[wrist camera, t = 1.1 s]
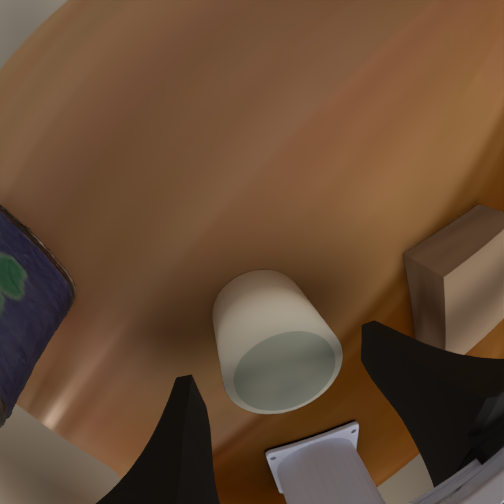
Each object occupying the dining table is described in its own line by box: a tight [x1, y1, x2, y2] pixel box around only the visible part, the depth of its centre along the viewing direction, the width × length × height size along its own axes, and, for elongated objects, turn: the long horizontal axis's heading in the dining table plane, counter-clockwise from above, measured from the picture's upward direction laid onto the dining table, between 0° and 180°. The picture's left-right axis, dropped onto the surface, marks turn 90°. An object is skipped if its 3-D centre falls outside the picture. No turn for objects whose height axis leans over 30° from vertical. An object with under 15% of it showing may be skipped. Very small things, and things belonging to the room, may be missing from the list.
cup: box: [212, 270, 343, 414], centre depth 14 cm, size 5×5×5 cm
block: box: [403, 204, 504, 355], centre depth 17 cm, size 8×8×4 cm
